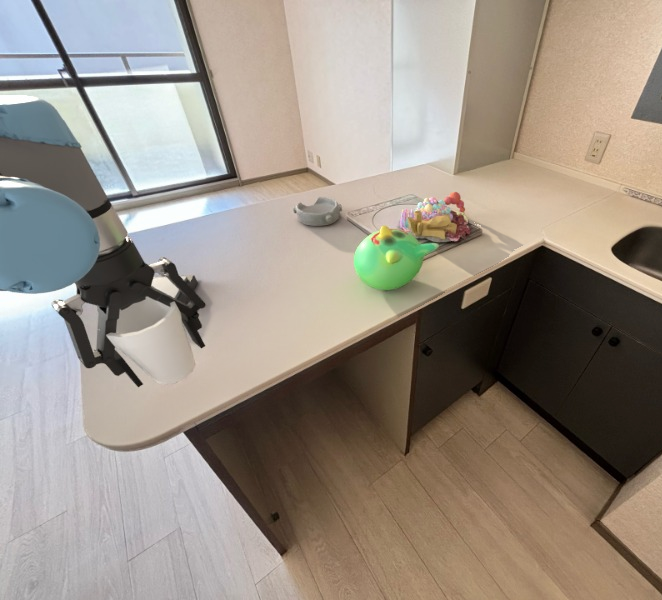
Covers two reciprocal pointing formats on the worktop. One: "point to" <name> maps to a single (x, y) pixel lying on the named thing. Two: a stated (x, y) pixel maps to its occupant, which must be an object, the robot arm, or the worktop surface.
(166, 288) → the scale
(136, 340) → the foam cup
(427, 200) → the candy landscape model
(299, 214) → the dish
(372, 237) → the toy bird
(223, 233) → the worktop surface
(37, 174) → the robot arm
